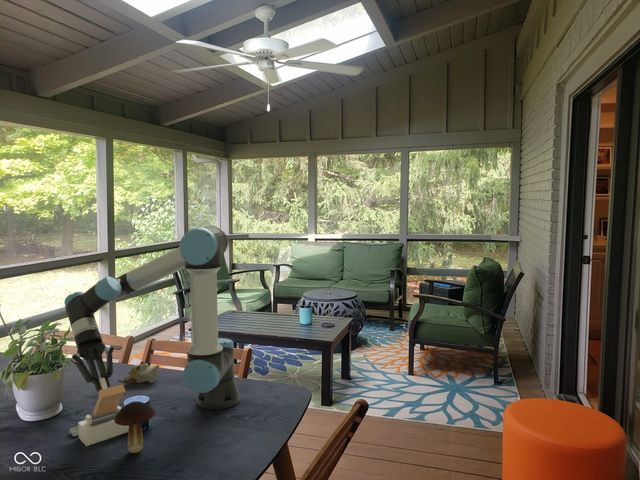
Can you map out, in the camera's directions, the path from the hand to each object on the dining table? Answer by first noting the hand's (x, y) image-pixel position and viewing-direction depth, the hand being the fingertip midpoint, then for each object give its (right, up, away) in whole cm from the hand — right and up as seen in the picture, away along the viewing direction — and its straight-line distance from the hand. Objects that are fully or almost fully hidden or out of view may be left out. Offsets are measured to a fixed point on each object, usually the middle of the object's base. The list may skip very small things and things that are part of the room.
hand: (106, 398), depth 140 cm
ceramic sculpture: (-8, -10, +47) cm, 48 cm away
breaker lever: (-3, -6, +3) cm, 8 cm away
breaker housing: (-4, -12, +5) cm, 14 cm away
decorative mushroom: (+12, -13, -7) cm, 19 cm away
